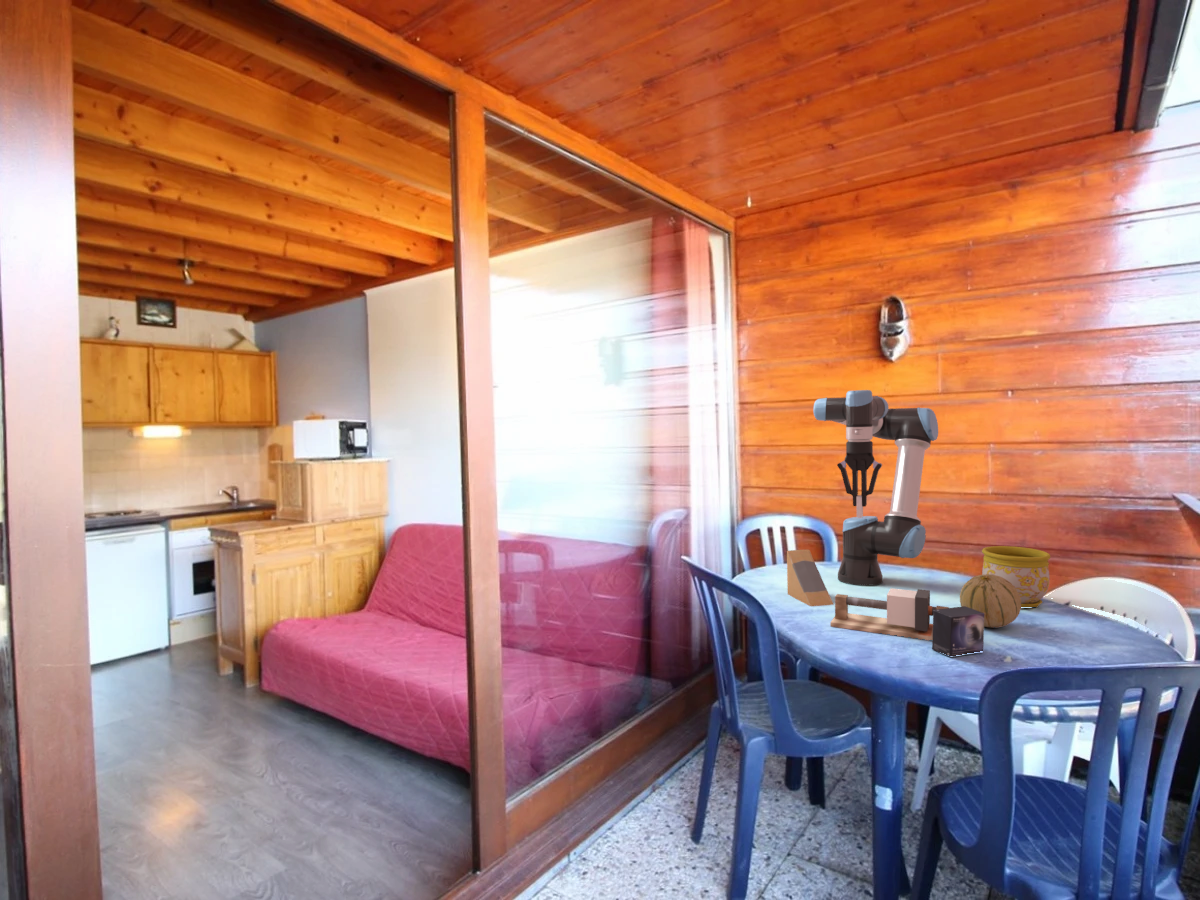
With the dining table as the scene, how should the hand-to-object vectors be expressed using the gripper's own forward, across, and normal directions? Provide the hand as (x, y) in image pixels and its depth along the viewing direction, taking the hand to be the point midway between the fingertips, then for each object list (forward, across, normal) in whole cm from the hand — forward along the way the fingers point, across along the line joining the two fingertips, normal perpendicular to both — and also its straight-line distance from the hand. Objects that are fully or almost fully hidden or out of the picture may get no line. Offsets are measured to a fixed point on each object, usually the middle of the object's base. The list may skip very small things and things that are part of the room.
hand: (859, 516), depth 199 cm
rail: (+28, +10, -17) cm, 35 cm away
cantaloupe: (+29, +34, -2) cm, 45 cm away
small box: (+29, +27, -28) cm, 48 cm away
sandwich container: (+29, -16, +3) cm, 33 cm away
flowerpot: (+30, +42, +26) cm, 58 cm away
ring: (+26, +18, -17) cm, 36 cm away
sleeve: (+26, +13, -17) cm, 34 cm away
